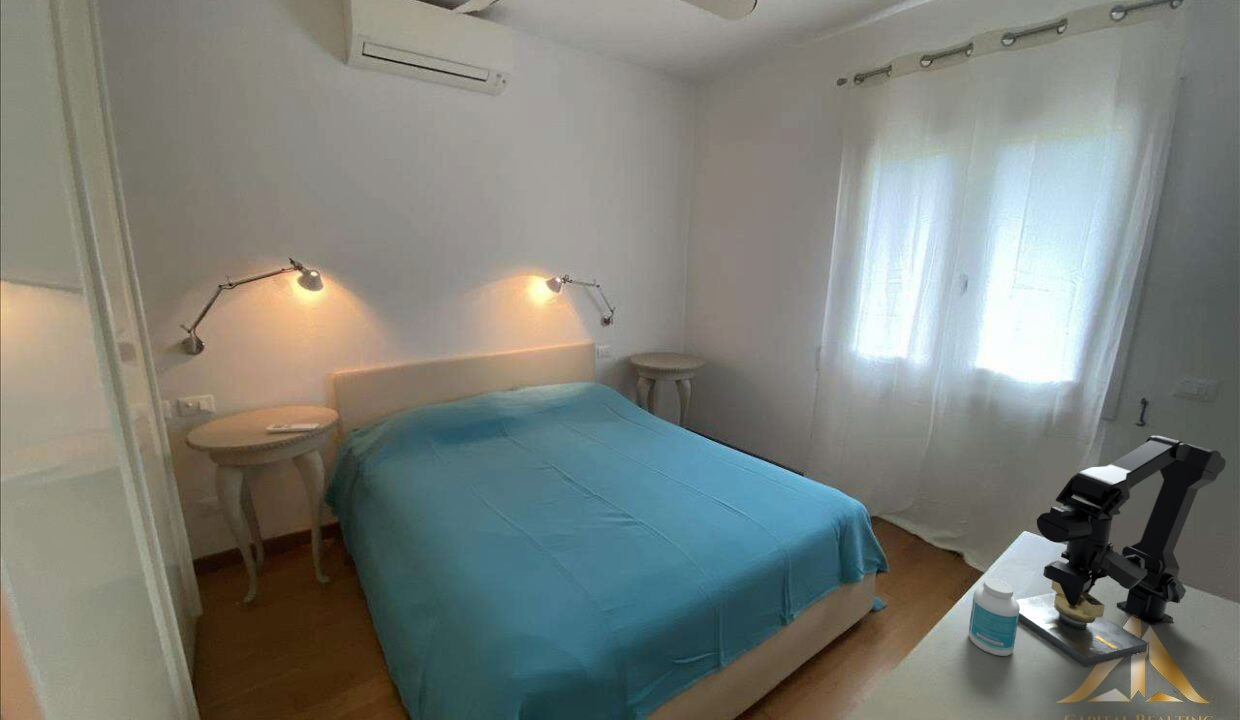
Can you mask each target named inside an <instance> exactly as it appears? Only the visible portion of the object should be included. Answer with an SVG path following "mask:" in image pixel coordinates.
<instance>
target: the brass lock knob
mask: <svg viewBox="0 0 1240 720" xmlns="http://www.w3.org/2000/svg"><path fill="white" fill-rule="evenodd" d="M1051 581H1052V582H1051V589H1052V590H1053V591H1054V592H1057V593H1056V595H1055V600H1054V608H1055V609H1056V610H1057V611H1058V612H1059V613H1060V614H1062V615H1063V616H1065V617H1067V618H1069V619H1072V620H1074V621H1078V622H1082V623H1093V622H1094V621H1095V618H1102V617H1104V613H1105V606H1106V605H1105V604H1104V603H1103V602H1101V601H1100V600H1098V599H1097V598H1095V597H1094V596H1092V595H1091V594H1090V593H1087V592H1085V591H1084V592H1082V594H1081V596H1080V598H1079V600H1078V602H1077V604H1076V606H1073V605H1070V604H1069V603H1068V601H1067V599H1066V597H1065V594H1064V592H1063V590H1062V588H1061V586H1060V584H1059V583H1057V582H1055V581H1053V580H1051Z"/></svg>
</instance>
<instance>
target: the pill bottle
mask: <svg viewBox="0 0 1240 720" xmlns="http://www.w3.org/2000/svg"><path fill="white" fill-rule="evenodd" d="M982 585H983V586H980V587H978V588H976V589H975V590H974V592H973V594H972V595H973V598H972V605H971V612H970V616H969V626H968V636H969V639H970V640H971V642H972V643H973V644H974V645H975V646H976V647H977V648H979V649H980V650H982V651H984V652H986V653H988V654H991V655H994V656H995V655H996V656H998V657H999V656H1001V657H1002V656H1003V657H1005V656H1009V655H1012V654H1013V652H1014V649H1015V644H1016V643H1015V642H1016V636H1017V630H1018V625H1019V624H1018V623H1019V621H1018V618H1019V612H1020V606H1019V604H1018V602H1017V601H1016V600H1017V599H1016V598H1015V597H1014V588H1013V587H1012V586H1011V585H1010V584H1008V583H1007V582H1005V581H1003V580H1000V579H996V578H992V577H991V578H985V579H984V581H983V584H982Z"/></svg>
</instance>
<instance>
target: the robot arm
mask: <svg viewBox="0 0 1240 720" xmlns="http://www.w3.org/2000/svg"><path fill="white" fill-rule="evenodd" d="M1226 463H1227V461H1226V459H1225V458H1224V457H1222V456H1221V453H1220V452H1219V451H1218V450H1216V449H1212V448H1208V447H1205V446H1200V445H1197V444H1192V443H1189V442H1185V441H1182V440H1178V439H1174V438H1169V437H1166V436H1163V435H1150V436H1149V437H1148V438H1147V439H1146V441H1145V443H1143V444H1142V445H1140V446H1138V447H1136V448H1134V449H1133V450H1132V451H1130V452H1128V453H1127V454H1125V455H1123V456H1122V457H1120V458H1118V459H1117V460H1115V461H1113V462H1112V463H1109V464H1108V465H1105V466H1092V467H1088V468H1086V469H1084V470H1081V471H1079V472H1076V473H1075V474H1074V475H1073V476H1072V477H1070V479H1069V480H1068V481H1067V483H1066V485H1064V487H1063V488H1062V490H1061V491H1060V492H1059V494H1058V495H1057V497H1056V499H1055V502H1057V503H1060V504H1062V506H1051V507H1050V510H1049V511H1047V512H1043V513H1040V515H1039V516H1038V517H1037V518H1036V526H1037V529H1038V531H1039V533H1040V534H1041V535H1042V537H1044V538H1045V539H1047V540H1048V541H1050V542H1052V543H1056V544H1060V543H1065V542H1066V548H1065V550H1064V551H1062V552H1061V555H1060V557H1061V559H1065V560H1067V561H1068V562H1067V563H1066V562H1063V561H1061V560H1056V561H1055V560H1054V561H1052V562H1050V563H1048V564H1047V565H1045V566H1044V569H1043V573H1042V574H1043V576H1044V578H1045V579H1049V580H1051V581H1055V582H1057V583H1059V584H1060V586H1061V588H1062V590H1063V592H1064V594H1065V597H1066V599H1067V601H1068V603H1069V604H1070V605H1073V606H1076V604H1077V602H1078V600H1079V598H1080V596H1081V594H1082V592H1084V591H1085V592H1087V593H1088V594H1090V591H1091V590H1092V588H1093V587H1094V586H1096V582H1097V580H1099V579H1103V578H1106V577H1109V578H1111V579H1112V580H1114V581H1115V582H1117V583H1118V584H1119V586H1120V587H1122V588H1124V589H1126V590H1128V592H1127V596H1126V600H1125V601H1120V602H1116V606H1117V607H1119V608H1120V609H1122V610H1124V611H1126V612H1128V613H1129V614H1131V615H1133V616H1135V617H1136V618H1139V619H1140V620H1141V621H1143V622H1145V623H1147V624H1149V625H1152V626H1154V625H1158V624H1164V623H1167V622H1172V621H1173V620H1174V617H1172V615H1169V614H1167V613H1165V612H1166V609H1167V606H1168V603H1170V602H1171V603H1175V604H1180V603H1181V600H1182V599H1183V598H1184V597H1185V595H1186V592H1187V589H1186V588H1185V587H1184V585H1183V584H1182V582H1181V581H1180V580H1179V578H1178V576H1179V572H1180V566H1179V563H1178V561H1177V559H1176V556H1175V554H1174V551H1175V549H1176V546H1177V544H1178V541H1179V538H1180V536H1181V533H1182V530H1183V528H1184V526H1185V523H1186V521H1187V518H1188V516H1189V513H1190V511H1191V508H1192V506H1193V504H1194V501H1195V498H1196V496H1197V493H1198V491H1199V490H1200V489H1203V488H1204V487H1205V486H1208V485H1210V484H1211V483H1214V482H1215V481H1216V480H1217V477H1218V476H1219V474H1220V473H1222V472H1223V471H1224V469H1225V467H1226ZM1158 471H1159V472H1160V474H1161V478H1162V479H1163V481H1162V484H1161V486H1160V489H1159V492H1158V494H1157V497H1156V499H1155V502H1154V504H1153V507H1152V510H1151V512H1150V515H1149V517H1148V520H1147V522H1146V525H1145V528H1144V531H1143V533H1142V535H1141V538H1140V540H1139V541H1138V542H1137V543H1134V544H1132V545H1130V546H1129V545H1126V546H1125V547H1123V548H1122V551H1121V554H1119V552H1117V551H1116V550H1114V549H1113V548H1114V544H1112V541H1109V539H1110V533H1111V529H1112V523H1113V518H1114V516H1117V515H1120V514H1121V511H1120V510H1119V509H1121V507H1122V506H1123V505H1124V504H1126V502H1127V501H1128V500H1129V499H1130V498H1131V489H1132V488H1133V487H1134V486H1136V485H1138V484H1139V483H1141V482H1142V481H1144V480H1146V479H1147V478H1149V477H1151V476H1152V475H1154V474H1156V473H1158ZM1073 496H1074V497H1075V498H1074V497H1073ZM1078 499H1080V500H1078ZM1081 500H1082V501H1081ZM1083 501H1085V502H1083ZM1086 502H1088V503H1086Z"/></svg>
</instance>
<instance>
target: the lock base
mask: <svg viewBox="0 0 1240 720" xmlns="http://www.w3.org/2000/svg"><path fill="white" fill-rule="evenodd" d="M1056 593H1057V592H1056V591H1054V592H1049V593H1044V594H1041V595H1034V596H1030V597H1026V598H1019V599H1016V601H1017V602H1018V604H1019V606H1020V612H1019V618H1018V623H1021V624H1022V625H1024V626H1025V627H1027V628H1028V629H1029V630H1031V631H1032V632H1034V633H1035V634H1037V635H1038V636H1040V637H1041V638H1042V639H1044V640H1045V641H1046V642H1048V643H1050V644H1051V645H1052V646H1054V647H1055V648H1057V649H1059V650H1060V651H1061V652H1062V653H1064V654H1065V655H1067V656H1068V657H1070V658H1071V659H1073V660H1074V661H1075V662H1076V663H1078V664H1080V666H1081V665H1082V667H1085V668H1087V667H1091V666H1095V665H1099V664H1103V663H1107V662H1110V661H1115V660H1119V659H1122V657H1123V658H1126V657H1125V656H1127V657H1130V656H1129V655H1131V656H1134V655H1133V654H1135V655H1137V653H1139V654H1143V653H1145V652H1147V650H1148V646H1149V642H1147V641H1145V640H1144V639H1142V638H1140V637H1139V636H1138V635H1136V634H1133V633H1132V632H1130V631H1128V630H1127V629H1125V628H1124V627H1121V626H1120V625H1118V624H1117V623H1115V622H1113V621H1111V620H1110V619H1109V618H1107V617H1105V616H1103V617H1102V618H1095V621H1094V622H1093V623H1082V622H1078V621H1074V620H1072V619H1069V618H1067V617H1065V616H1063V615H1062V614H1060V613H1059V612H1058V611H1057V610H1056V609H1055V608H1054V600H1055V595H1056ZM1142 652H1143V653H1142Z"/></svg>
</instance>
